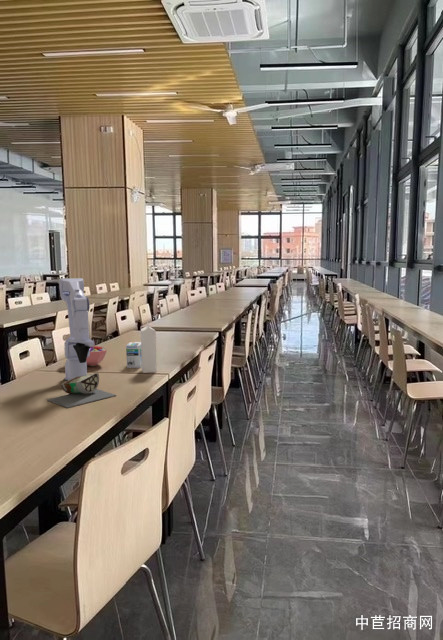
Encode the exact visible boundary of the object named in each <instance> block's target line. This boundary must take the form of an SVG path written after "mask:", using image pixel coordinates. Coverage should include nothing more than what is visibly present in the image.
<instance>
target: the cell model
mask: <svg viewBox="0 0 443 640" xmlns="http://www.w3.org/2000/svg"><path fill="white" fill-rule="evenodd" d="M107 350H108V349H106V348H105V347H104V346H98V345H94V346H91V347H90V356H89V357H87V359H86V361H87V367H94V366H97V365H99V364H100V363H102V362H103V361H104V359H105V356H106V354H107Z"/></svg>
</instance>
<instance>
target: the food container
mask: <svg viewBox="0 0 443 640" xmlns="http://www.w3.org/2000/svg"><path fill="white" fill-rule="evenodd" d="M99 381H100V375H99V372H94V373H90V374H87V375H84V376H78V377H75V378H73V379H71V380H66V381H65V382H63V383H61V384H60V387H61V389H62V391H64V393H66V394H67V395H68V394H73V393H83V394H90V393H92V392H94V391H95V390H96V389H98V387H99V383H100V382H99Z"/></svg>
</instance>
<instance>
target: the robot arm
mask: <svg viewBox="0 0 443 640" xmlns="http://www.w3.org/2000/svg"><path fill="white" fill-rule="evenodd" d="M84 281H85V280H84V279H83V278H82V277H79V278H78V277H77V278H74V277H73V278H62V277H60V279H58V284H59V285H58V288H59V289H58V290H59V295H60V299H61V300H62V301H65V304H66V309H67V317H68V325H69V327H68V328H69V333H70V334H69V335H70V336H69V337H68V338H66V339H65V341H64V348H63V349H64V357H65V359H66V361H65V363H64V371H65V372H64V373H65V374H64V375H65V377H63V379H64V380H66V381H69V380H71V379H73V378H75V377H78V376H84V375H88V366H87V361H86V359H87V357H89V356H90V347H91V346H95V340H92V339H90V327H89V326H90V324H89V323H90V322H89V312H90V299H89V297H88V296H86V295H85V292H84V290H85V282H84Z"/></svg>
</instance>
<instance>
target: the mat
mask: <svg viewBox="0 0 443 640" xmlns="http://www.w3.org/2000/svg"><path fill="white" fill-rule="evenodd" d="M114 397H117V395H116V394H114V393H112V392H111V393H110V392H108V391H105V390H102V389H99V388H97V389H96V390H95V391H94V392H92V393H90V394H83V393H70V394H68V393H67V394H66V395H65V394H64V395H61V396H56V397H51V398H47V399H46V400H47V401H48V402H49V403H50V402H51V403H54V405H55V404H56V405H59V406H61V407H64V408H65V409H69V408H73V407H77V406H81V405H85V404H90V403H94V402H98V401H101V400H105V399H110V398H114Z"/></svg>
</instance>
